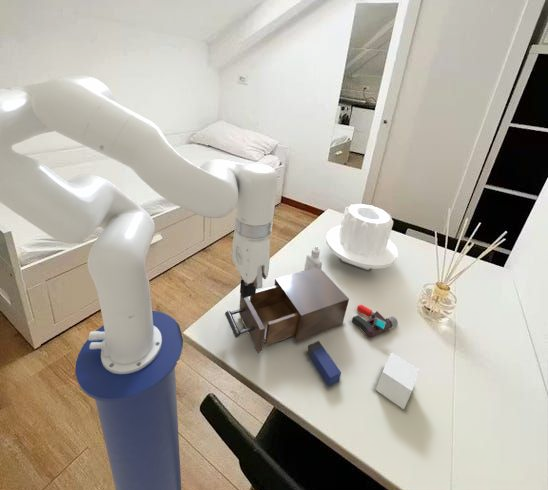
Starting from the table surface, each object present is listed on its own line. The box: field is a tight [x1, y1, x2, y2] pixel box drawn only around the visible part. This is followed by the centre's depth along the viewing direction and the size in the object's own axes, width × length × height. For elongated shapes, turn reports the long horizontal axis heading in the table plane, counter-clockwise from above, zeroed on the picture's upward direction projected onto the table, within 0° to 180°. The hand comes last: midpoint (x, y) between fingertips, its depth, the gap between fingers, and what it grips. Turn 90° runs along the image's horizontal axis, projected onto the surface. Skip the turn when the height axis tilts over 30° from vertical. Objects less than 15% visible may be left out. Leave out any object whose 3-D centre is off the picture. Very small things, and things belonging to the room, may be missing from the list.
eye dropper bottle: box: [303, 245, 323, 271], centre depth 93 cm, size 4×6×12 cm
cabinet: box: [273, 267, 350, 343], centre depth 79 cm, size 15×14×9 cm
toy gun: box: [351, 304, 399, 339], centre depth 80 cm, size 10×12×5 cm
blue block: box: [306, 340, 342, 388], centre depth 66 cm, size 8×3×3 cm, turn 27°
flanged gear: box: [325, 203, 399, 271], centre depth 103 cm, size 25×25×19 cm
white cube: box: [375, 352, 420, 410], centre depth 63 cm, size 6×6×6 cm
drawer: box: [224, 285, 299, 353], centre depth 73 cm, size 18×12×7 cm
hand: (247, 293), depth 66 cm, fingers closed
